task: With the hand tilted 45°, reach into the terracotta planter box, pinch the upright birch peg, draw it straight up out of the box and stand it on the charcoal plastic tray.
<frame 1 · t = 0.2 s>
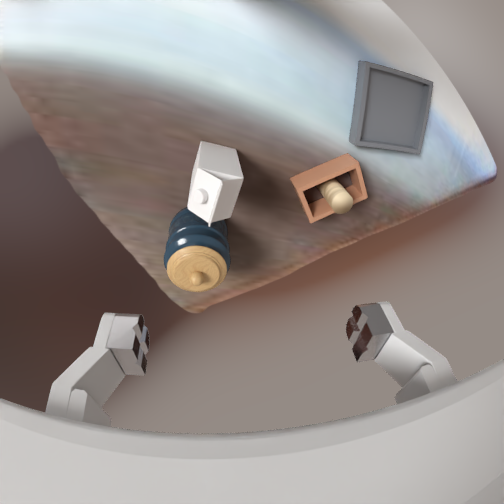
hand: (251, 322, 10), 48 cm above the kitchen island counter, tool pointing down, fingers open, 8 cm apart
charcoal tray: (389, 107, 50), on the kitchen island counter
terracotta planter box: (325, 182, 60), on the kitchen island counter
milk carton: (213, 160, 54), on the kitchen island counter
canister: (198, 228, 64), on the kitchen island counter
birch peg: (333, 192, 56), in the terracotta planter box
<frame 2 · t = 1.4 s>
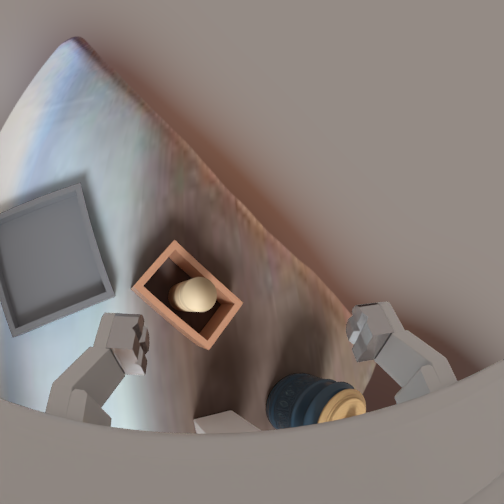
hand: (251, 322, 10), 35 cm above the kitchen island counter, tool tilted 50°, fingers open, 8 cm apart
charcoal tray: (45, 260, 35), on the kitchen island counter
terracotta planter box: (181, 297, 44), on the kitchen island counter
milk carton: (215, 430, 42), on the kitchen island counter
canister: (292, 402, 50), on the kitchen island counter
birch peg: (189, 295, 40), in the terracotta planter box
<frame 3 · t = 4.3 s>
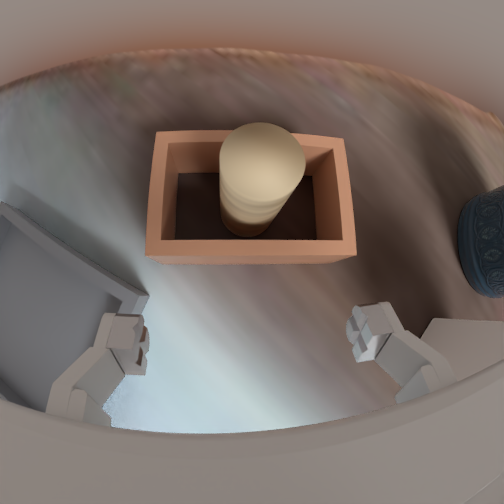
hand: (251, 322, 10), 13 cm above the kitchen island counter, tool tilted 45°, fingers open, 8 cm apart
charcoal tray: (37, 330, 20), on the kitchen island counter
terracotta planter box: (246, 210, 24), on the kitchen island counter
milk carton: (429, 362, 24), on the kitchen island counter
canister: (483, 247, 27), on the kitchen island counter
birch peg: (253, 190, 19), in the terracotta planter box
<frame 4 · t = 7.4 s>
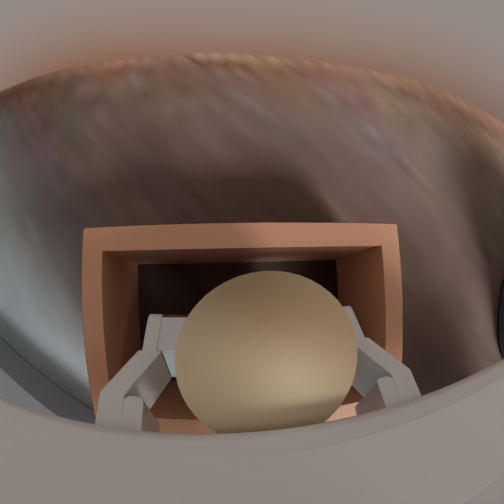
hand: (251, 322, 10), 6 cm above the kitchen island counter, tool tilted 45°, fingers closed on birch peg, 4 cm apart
charcoal tray: (8, 436, 12), on the kitchen island counter
terracotta planter box: (241, 322, 16), on the kitchen island counter
birch peg: (249, 335, 11), in the terracotta planter box, touching gripper
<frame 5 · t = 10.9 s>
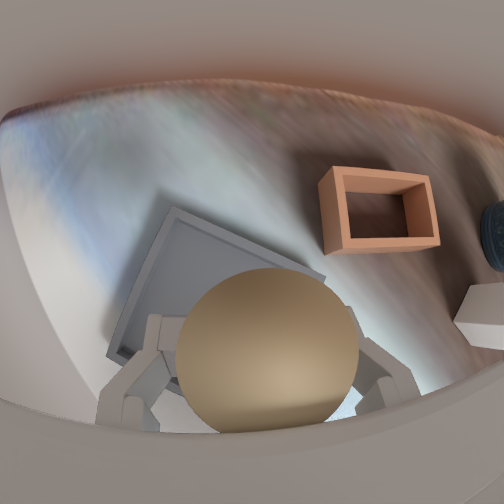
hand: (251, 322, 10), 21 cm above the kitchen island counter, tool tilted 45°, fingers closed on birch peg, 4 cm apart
charcoal tray: (213, 318, 31), on the kitchen island counter
terracotta planter box: (370, 218, 35), on the kitchen island counter
milk carton: (469, 315, 35), on the kitchen island counter
canister: (496, 238, 37), on the kitchen island counter
birch peg: (250, 333, 11), point 20 cm above the kitchen island counter, touching gripper
when the fingers open (8 cm above the kitchen island counter, at t = 14.5 s): birch peg drops 1 cm, resting on charcoal tray.
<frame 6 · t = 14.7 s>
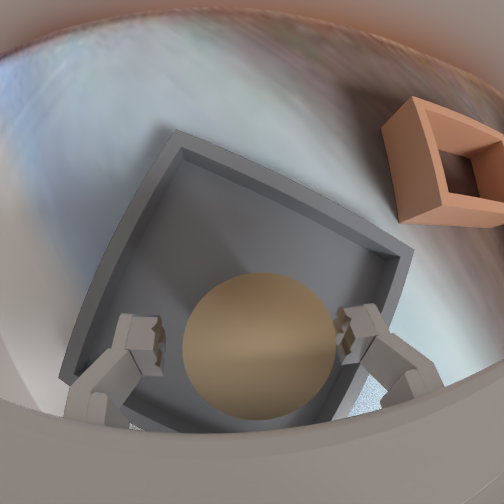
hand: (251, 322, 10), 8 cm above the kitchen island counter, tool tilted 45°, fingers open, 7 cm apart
charcoal tray: (237, 318, 19), on the kitchen island counter
terracotta planter box: (444, 181, 22), on the kitchen island counter
birch peg: (247, 329, 13), in the charcoal tray, point 6 cm above the kitchen island counter
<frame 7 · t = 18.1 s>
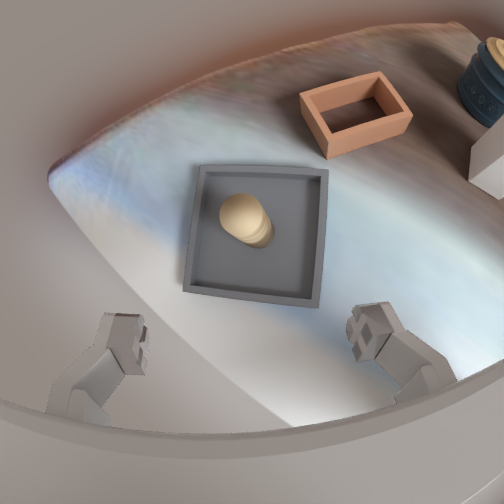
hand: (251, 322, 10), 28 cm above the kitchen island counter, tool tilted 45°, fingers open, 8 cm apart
charcoal tray: (258, 234, 40), on the kitchen island counter
terracotta planter box: (353, 122, 39), on the kitchen island counter
milk carton: (484, 173, 34), on the kitchen island counter
canister: (482, 103, 34), on the kitchen island counter
birch peg: (250, 224, 34), in the charcoal tray, point 6 cm above the kitchen island counter
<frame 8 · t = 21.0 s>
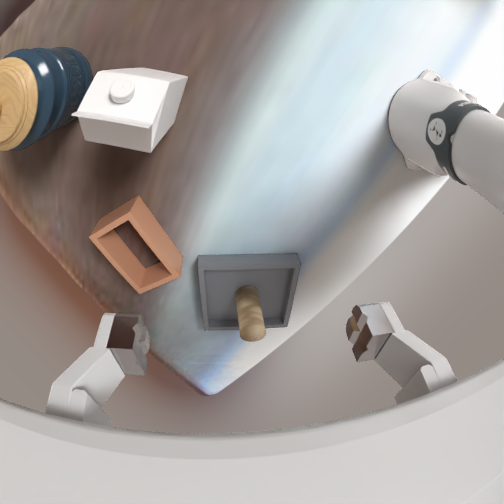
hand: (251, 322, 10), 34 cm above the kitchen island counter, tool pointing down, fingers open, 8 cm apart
charcoal tray: (246, 289, 57), on the kitchen island counter
terracotta planter box: (141, 237, 47), on the kitchen island counter
milk carton: (157, 94, 34), on the kitchen island counter
canister: (59, 86, 29), on the kitchen island counter
birch peg: (249, 312, 52), in the charcoal tray, point 6 cm above the kitchen island counter
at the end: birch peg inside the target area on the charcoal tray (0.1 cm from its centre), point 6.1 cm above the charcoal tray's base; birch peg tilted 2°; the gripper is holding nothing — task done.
